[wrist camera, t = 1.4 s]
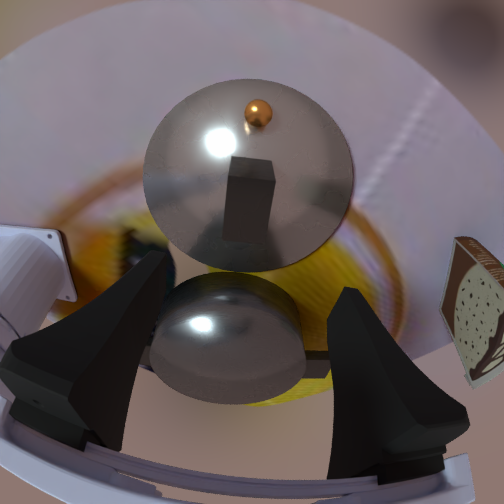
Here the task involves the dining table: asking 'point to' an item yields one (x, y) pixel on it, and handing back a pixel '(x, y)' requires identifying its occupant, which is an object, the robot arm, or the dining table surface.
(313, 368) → the cooker pot
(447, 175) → the dining table surface
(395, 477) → the robot arm
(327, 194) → the cooker lid
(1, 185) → the dining table surface
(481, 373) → the food container
